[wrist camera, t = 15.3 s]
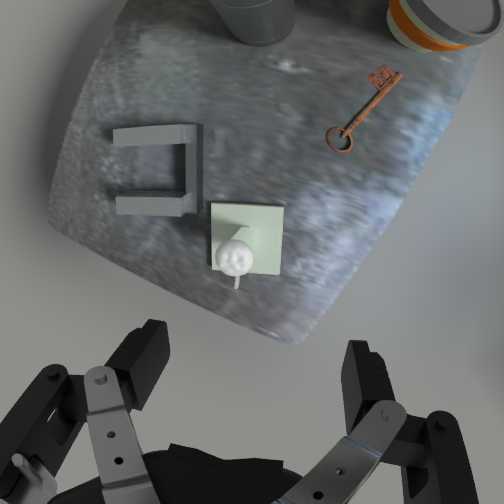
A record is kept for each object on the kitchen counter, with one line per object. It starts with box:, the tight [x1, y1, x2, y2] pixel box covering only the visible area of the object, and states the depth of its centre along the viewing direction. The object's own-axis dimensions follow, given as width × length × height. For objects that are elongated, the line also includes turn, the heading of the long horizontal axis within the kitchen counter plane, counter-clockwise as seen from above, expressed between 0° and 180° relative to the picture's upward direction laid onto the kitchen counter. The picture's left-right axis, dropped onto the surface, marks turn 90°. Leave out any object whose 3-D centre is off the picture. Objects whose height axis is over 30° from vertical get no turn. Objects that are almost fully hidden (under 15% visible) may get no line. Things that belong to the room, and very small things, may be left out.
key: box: [327, 64, 402, 153], centre depth 37 cm, size 6×1×15 cm
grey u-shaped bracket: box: [113, 124, 203, 217], centre depth 41 cm, size 12×12×5 cm
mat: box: [211, 202, 284, 275], centre depth 45 cm, size 10×10×1 cm
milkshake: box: [215, 226, 256, 289], centre depth 40 cm, size 4×5×10 cm
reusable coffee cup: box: [387, 0, 504, 53], centre depth 24 cm, size 13×13×15 cm
